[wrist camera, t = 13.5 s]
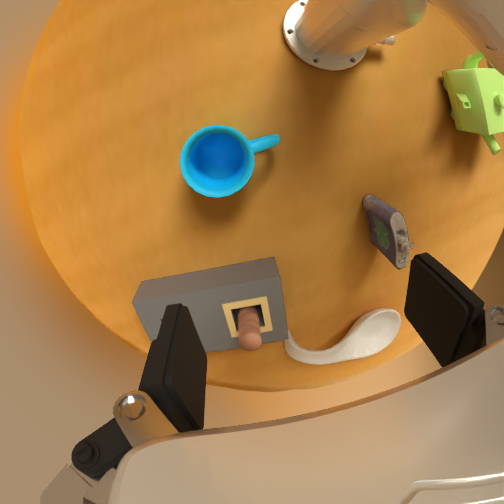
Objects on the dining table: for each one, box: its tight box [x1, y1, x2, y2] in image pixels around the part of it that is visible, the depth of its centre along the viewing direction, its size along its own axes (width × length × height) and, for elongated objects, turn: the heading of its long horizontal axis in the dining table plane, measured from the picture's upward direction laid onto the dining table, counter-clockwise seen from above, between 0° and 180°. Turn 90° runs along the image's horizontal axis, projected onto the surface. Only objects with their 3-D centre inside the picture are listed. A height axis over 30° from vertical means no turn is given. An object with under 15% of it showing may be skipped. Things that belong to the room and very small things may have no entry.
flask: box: [363, 195, 414, 269], centre depth 37 cm, size 9×3×11 cm, turn 22°
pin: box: [238, 305, 262, 351], centre depth 40 cm, size 3×3×10 cm
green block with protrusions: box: [442, 50, 504, 155], centre depth 28 cm, size 15×14×11 cm
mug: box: [180, 125, 280, 198], centre depth 33 cm, size 12×8×8 cm
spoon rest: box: [284, 308, 401, 365], centre depth 48 cm, size 24×12×7 cm, turn 95°
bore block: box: [132, 257, 289, 353], centre depth 43 cm, size 22×12×6 cm, turn 100°
